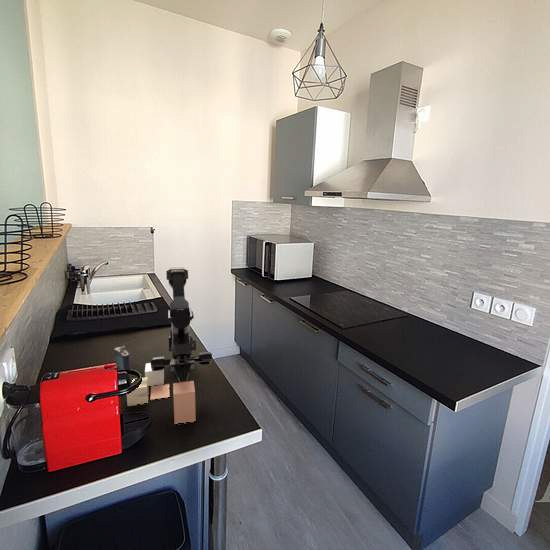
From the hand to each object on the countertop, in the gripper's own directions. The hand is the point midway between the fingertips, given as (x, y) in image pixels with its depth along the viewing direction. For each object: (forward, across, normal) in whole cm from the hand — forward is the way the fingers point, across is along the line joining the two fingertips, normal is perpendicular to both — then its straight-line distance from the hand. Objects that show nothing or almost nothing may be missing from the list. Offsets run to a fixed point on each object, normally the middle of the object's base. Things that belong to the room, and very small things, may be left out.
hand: (183, 388), depth 103 cm
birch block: (-1, -14, +11) cm, 18 cm away
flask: (-14, -21, +25) cm, 35 cm away
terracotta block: (+8, 0, +2) cm, 8 cm away
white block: (-8, -9, +18) cm, 22 cm away
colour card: (-3, -7, +13) cm, 15 cm away
